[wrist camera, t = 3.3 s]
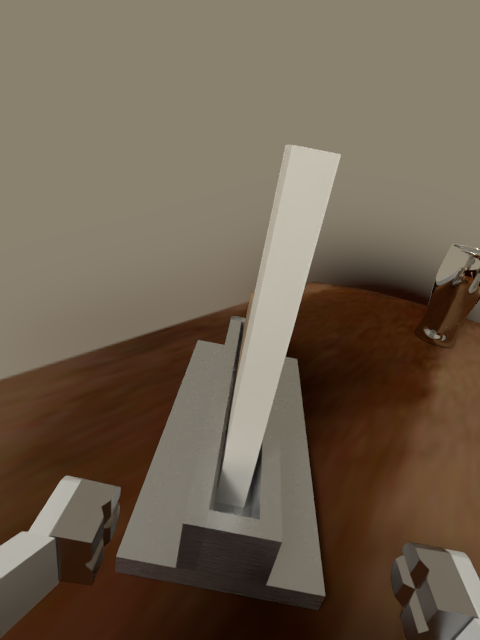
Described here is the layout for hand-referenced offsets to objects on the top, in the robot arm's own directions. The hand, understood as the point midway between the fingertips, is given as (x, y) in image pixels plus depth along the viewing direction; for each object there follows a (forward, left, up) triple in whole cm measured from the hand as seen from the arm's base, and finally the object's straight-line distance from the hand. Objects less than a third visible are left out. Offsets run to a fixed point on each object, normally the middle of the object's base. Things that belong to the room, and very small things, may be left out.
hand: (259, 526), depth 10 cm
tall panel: (-3, -13, -12) cm, 18 cm away
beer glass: (-40, -40, -14) cm, 58 cm away
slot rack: (-4, -17, -14) cm, 22 cm away
